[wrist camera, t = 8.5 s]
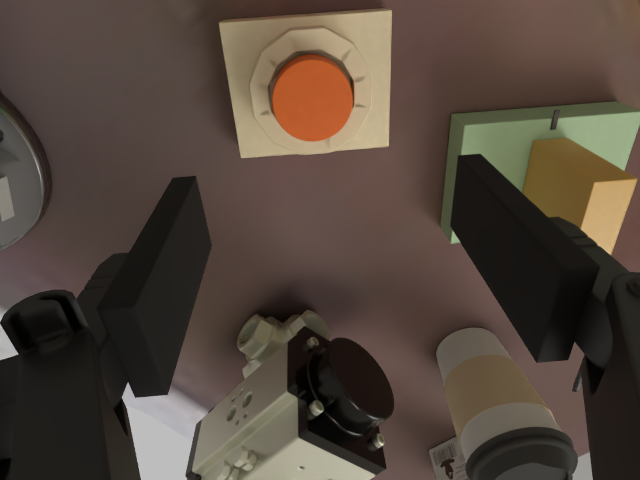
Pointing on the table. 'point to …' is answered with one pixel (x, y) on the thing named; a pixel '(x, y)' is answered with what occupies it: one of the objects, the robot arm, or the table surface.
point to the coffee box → (448, 461)
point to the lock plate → (535, 124)
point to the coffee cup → (500, 413)
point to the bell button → (312, 98)
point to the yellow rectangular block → (579, 188)
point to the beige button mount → (300, 39)
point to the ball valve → (296, 409)
